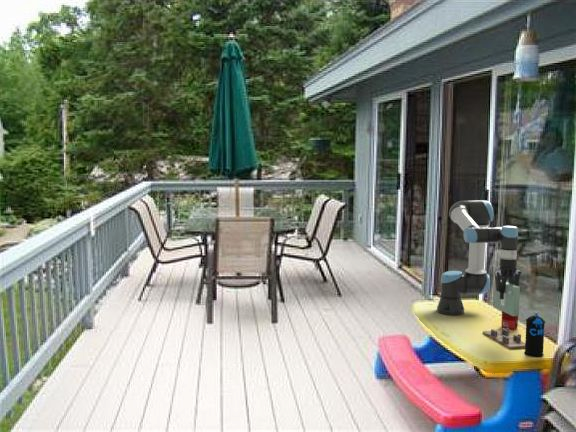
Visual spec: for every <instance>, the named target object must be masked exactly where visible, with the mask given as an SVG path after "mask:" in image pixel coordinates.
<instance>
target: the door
mask: <svg viewBox="0 0 576 432" xmlns="http://www.w3.org/2000/svg"><path fill="white" fill-rule="evenodd" d="M494 282H495V284H494V285H495V286H494V287H495V289H494V308H495V309H497V310H498V311H499V310H500V311H501V312H502V311H503V312H505V313H507V314H509V315H511V316H518V317H519V316H520V297H521V296H520V295H521V294H520V293H521V292H520V290H521V287H520V286H516V285H513V284H511V283H509V281H506V286H505V292H504V293H506V302H505V306H502V305H501V299H500V292H499V291H496V280H495V281H494Z"/></svg>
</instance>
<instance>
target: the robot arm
mask: <svg viewBox="0 0 576 432" xmlns="http://www.w3.org/2000/svg"><path fill="white" fill-rule="evenodd" d="M448 214H449V218H450V219H451V221H452V222H453V223H455V224H457V225H458V226H459V228H460V230H462V231H463V235H462V236H463V240H464V241H465V243H468V244H469V246H468V247H469V249H468V267H467V268H466V269H465V270H464V271H465V272H464V273H463V272H462V271H461V270H449V271H444V272H443V273H442V274H441V277H440V298H439V301H438V304H437V306H436V312H437V311H438V312H437V313H439V314H442V315H445V316H446V315H447V316H461V315H464V313H465V307H464V303H463V299H462V295H484V294H487V292H488V291H489V288H490V285H491V277H490V275H489V273H487V270H486V269H485V259H486V244H493V243H494V244H495V243H496V244H500V250H499V252H500V253H499V254H500V255H499V257H500V258H499V265H500V266H499V269H498V270H497V271H494V275H495V281H496V291H499V292H500V299H501V305H502V306H505V302H506V293H504V292H505V286H506V282H508V283H511V284H513V285H516V286H518V287H520V286H519V285H520V277H521V274H522V271H521V270H518V269H517V258H518V256H517V255H518V239H519V237H518V236H519V230H518V229H519V228H518V227H517V226H514V225H503V226H495V227H489V226H490V222H493V220H494V215H495V214H494V207H493V206H492V203H491V202H490V201H489V200H483V199H482V200H481V199H480V200H478V199H476V200H459V201H457V202H455V203H453V204H452V205H451V206H450V209H449V212H448Z"/></svg>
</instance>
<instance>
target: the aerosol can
mask: <svg viewBox="0 0 576 432" xmlns="http://www.w3.org/2000/svg"><path fill="white" fill-rule="evenodd" d="M525 321H526V322H525V324H526V325H525V342H524V343H525V348H524V351H523V352H524V355H526V356H528V357H531V356H532V358H541V357H543V356H545V355H544V341H545V324H546V321H545V320H544V319H543V317H541V316H539V312H538V311H533V314H532V315H531V316H527V318H526V319H525Z"/></svg>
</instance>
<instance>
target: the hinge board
mask: <svg viewBox="0 0 576 432" xmlns="http://www.w3.org/2000/svg"><path fill="white" fill-rule="evenodd" d="M482 334H483V335H485V336H486V337H488V338H489V339H491V340H493V341H494V342H497V343H498V344H500V345H502V346H503V347H505V348H506V349H509V350H518V349H525V342H524V341H522V334H520V333H518V334H513V336H512V335H511V334H510V330H509V328H506V329H504V328H503V327H502V328H501V330H500V329H497V330H496V329H493V328H491V330H483V331H482Z"/></svg>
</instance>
